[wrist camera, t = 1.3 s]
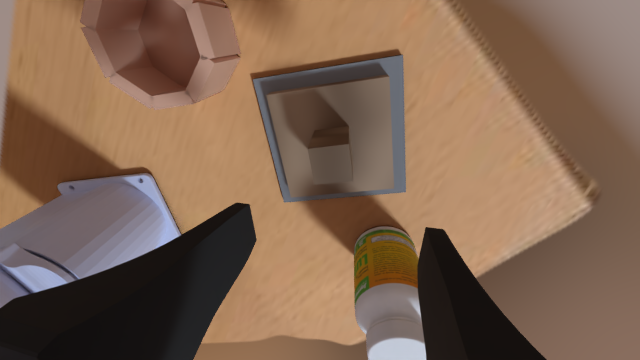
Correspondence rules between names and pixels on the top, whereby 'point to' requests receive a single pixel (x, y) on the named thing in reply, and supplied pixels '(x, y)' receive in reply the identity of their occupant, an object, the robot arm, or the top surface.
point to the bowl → (163, 48)
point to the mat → (331, 75)
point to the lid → (335, 136)
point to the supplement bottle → (388, 295)
